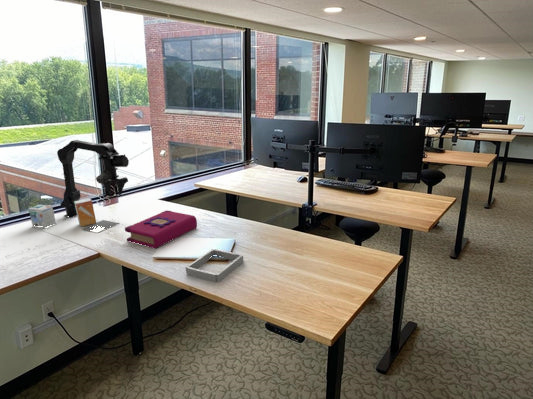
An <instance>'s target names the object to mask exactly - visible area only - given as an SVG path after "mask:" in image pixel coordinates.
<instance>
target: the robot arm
mask: <svg viewBox="0 0 533 399" xmlns="http://www.w3.org/2000/svg"><path fill="white" fill-rule="evenodd" d="M77 150H83V151H84V150H85V151H90V152H95V153H96V154H98V155H100V156H99V157H98V160H102V163H103V169H102V173H100V174H99V175H98V176H97V177H96V178H95V180H96V182H97V183H98V184H101V185H103V187H104V188H105V191H106V192H107V194H111V191H112V190H111V187H112V186H111V183H112V182H114V186H115V187H116V188H117V193H118V195H119V196H121V195H123V194H122V193H123V191H124V190H123V189H124V187H125V185H126V184H127V183H129V180H128V177H126V176H120V177H119V175H118V174H117V170H119V169H118V168H127V167H128V166H129V162H130V161H129V159H128V156H126V154H124V153H123V154H120V153H119V151H117V150H116V148H115V147H114V145H113V144H112V143H109V142H107V143H105V142H102V143H95V142H90V141H83V140H79V139H74V140H70V141H69V143H68V144H66V145H65V146H63V147H62V148H58V150H57V152H56V154H57V158H58V160H59V162H60V163H61V165H62V171H63V179H64V185H65V190H64V193H63V200H62V201H61V202H60V205H59V206H60V207H61V208H63V209H64V210H65V213H66V214H63V215H64V216H63V217H66V216H69V217H68V218H74V217H77V216H76V215H77V212H76V208H75V203H74V201H79V200H81V196H82V195H81V190H78V188H76V183H75V174H74V167H73V163H74V160H75V153H76V152H77ZM73 216H74V217H73Z"/></svg>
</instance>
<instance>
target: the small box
mask: <svg viewBox="0 0 533 399" xmlns="http://www.w3.org/2000/svg"><path fill="white" fill-rule="evenodd" d="M74 203H75V208H76V212H77V216H76V217H77V220H78V224H79V226H80V227H87V226H89V225H92V224H95V223H97V219H96V214H95V209H94V204H93V201H92V199H91V198H86V199H79V201H74Z"/></svg>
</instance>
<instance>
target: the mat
mask: <svg viewBox="0 0 533 399" xmlns="http://www.w3.org/2000/svg"><path fill="white" fill-rule="evenodd" d="M116 224H118V225H119V224H120V222H115V221H110V220H106V219H105V220H104V219H102V220H100V221H96V223H95V224H90V225H86V226H83V228H81V229H83V230H82V231H85V230H87V231H86V232H90V230H93V229H94V227H95V226H96V228H97V227H98V226H100V227H101V226H102V227H105V228H104V229H106V230H108V229H110V228H109V227H110V226H111V228H113V227H115V226H117V225H116ZM97 225H98V226H97ZM114 225H115V226H114ZM93 226H94V227H93ZM112 226H113V227H112ZM90 227H91V228H90ZM92 227H93V228H92ZM102 227H101V228H102ZM96 228H95V229H96ZM107 228H108V229H107Z"/></svg>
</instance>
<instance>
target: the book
mask: <svg viewBox="0 0 533 399" xmlns="http://www.w3.org/2000/svg"><path fill="white" fill-rule="evenodd" d="M197 220H198V219H197V218H196V216H194V215H192V214H187V213H182V212H176V211H172V210H164V211H161V212H160V213H157V214H155V215H152V216H151V217H148V218H146V219H143V220H141V221H139V222H137V223H134V224H132V225H131V224H130V225H128V226H125V227H124V231H125V232H126V233H128V234H129V233H130V236H129V237H127V238H126V242H127V241H131V242H135V243H139V244H142V245H146V246H149V247H148V248H150V247H153V248H156V249H158V248H160V247H162V246H164V245H165V244H167V243H169V242H171V241H173V240H175V239H177V238H180V237H181V236H183V235H184V234H187V233H189V232H191V231H192V230H194V229H197V227H198V221H197ZM172 239H173V240H172ZM170 240H171V241H170ZM168 241H169V242H168ZM131 242H130V243H131ZM166 242H167V243H166ZM135 243H134V244H135ZM164 243H165V244H164ZM139 244H138V245H139ZM163 244H164V245H163ZM142 245H141V246H142ZM161 245H162V246H161ZM146 246H145V247H146ZM159 246H160V247H159ZM157 247H158V248H157ZM153 248H152V249H153Z"/></svg>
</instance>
